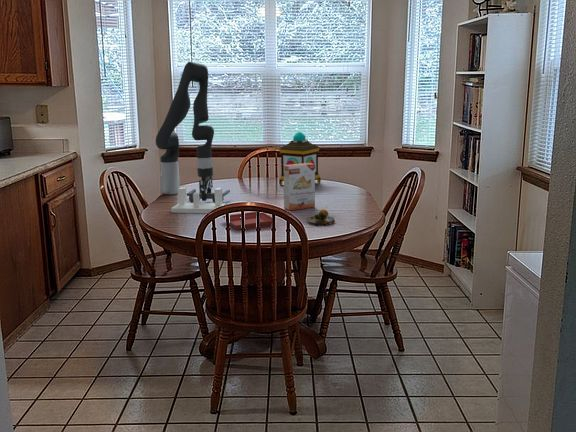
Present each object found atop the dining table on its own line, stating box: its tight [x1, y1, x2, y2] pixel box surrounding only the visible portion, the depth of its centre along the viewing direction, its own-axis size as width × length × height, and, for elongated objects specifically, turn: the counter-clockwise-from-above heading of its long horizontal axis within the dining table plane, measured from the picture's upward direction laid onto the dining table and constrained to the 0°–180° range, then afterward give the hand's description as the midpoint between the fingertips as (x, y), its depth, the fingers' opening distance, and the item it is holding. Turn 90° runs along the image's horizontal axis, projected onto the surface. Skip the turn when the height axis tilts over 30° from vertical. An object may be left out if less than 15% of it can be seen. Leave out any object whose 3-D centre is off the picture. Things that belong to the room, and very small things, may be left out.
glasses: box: [186, 188, 231, 203], centre depth 297 cm, size 19×11×5 cm, turn 80°
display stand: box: [170, 186, 227, 214], centre depth 278 cm, size 23×12×10 cm, turn 80°
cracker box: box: [283, 163, 316, 211], centre depth 276 cm, size 14×6×21 cm, turn 117°
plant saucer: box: [222, 211, 273, 231], centre depth 251 cm, size 18×18×3 cm
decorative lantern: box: [278, 131, 321, 186], centre depth 334 cm, size 20×20×30 cm
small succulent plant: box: [306, 206, 336, 227], centre depth 251 cm, size 12×12×8 cm
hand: (206, 199), depth 293 cm, fingers open, 8 cm apart
